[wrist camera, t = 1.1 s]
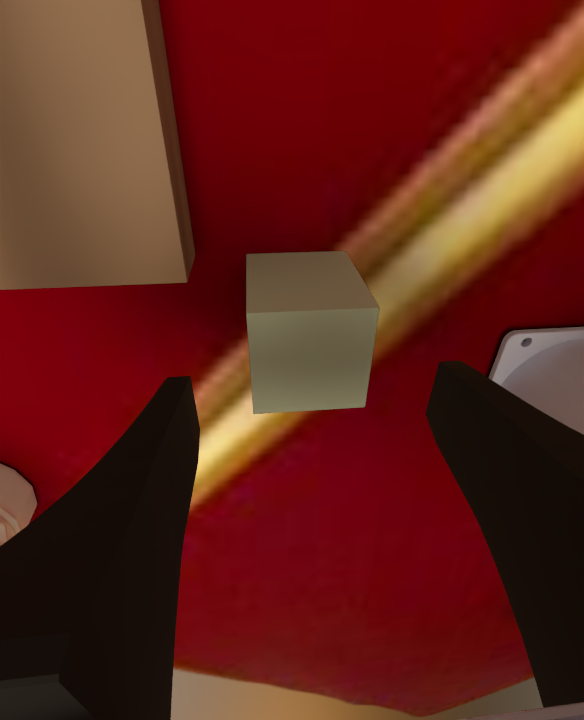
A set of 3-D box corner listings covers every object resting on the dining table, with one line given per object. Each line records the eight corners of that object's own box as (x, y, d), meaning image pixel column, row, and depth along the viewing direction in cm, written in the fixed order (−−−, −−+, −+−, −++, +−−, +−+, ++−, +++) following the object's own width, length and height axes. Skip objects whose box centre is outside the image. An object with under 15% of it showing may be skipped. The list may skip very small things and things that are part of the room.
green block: (345, 250, 16) (379, 307, 12) (338, 335, 18) (364, 406, 14) (246, 253, 15) (246, 313, 11) (251, 338, 18) (253, 414, 14)
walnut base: (156, -25, 11) (131, -57, 9) (196, 251, 16) (187, 282, 13) (-151, -33, 10) (-273, -69, 8) (-15, 258, 15) (-67, 292, 13)
